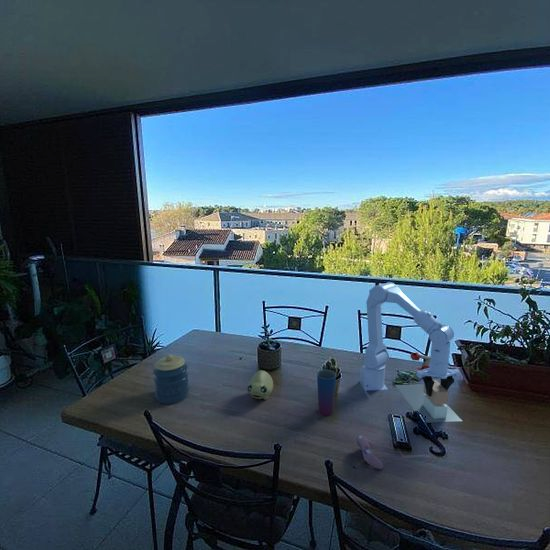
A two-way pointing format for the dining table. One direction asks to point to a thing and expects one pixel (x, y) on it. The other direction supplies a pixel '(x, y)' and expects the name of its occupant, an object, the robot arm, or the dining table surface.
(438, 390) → the tan rectangular block
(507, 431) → the dining table surface
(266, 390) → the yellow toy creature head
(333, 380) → the cup
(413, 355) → the toy fire truck
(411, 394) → the baseplate
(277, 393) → the dining table surface
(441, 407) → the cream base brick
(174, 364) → the canister
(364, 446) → the pink curved figurine
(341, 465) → the dining table surface
